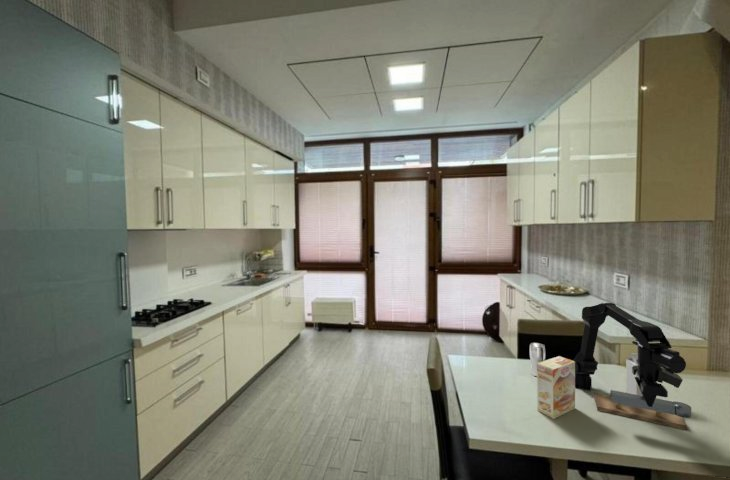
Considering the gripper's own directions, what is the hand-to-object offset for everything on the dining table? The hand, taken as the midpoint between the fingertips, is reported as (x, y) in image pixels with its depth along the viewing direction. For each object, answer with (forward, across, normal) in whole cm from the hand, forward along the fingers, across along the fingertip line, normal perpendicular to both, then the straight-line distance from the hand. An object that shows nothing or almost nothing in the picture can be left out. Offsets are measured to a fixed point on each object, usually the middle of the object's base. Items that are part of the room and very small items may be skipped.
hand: (648, 403), depth 112 cm
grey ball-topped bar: (+1, 0, 0) cm, 1 cm away
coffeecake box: (+10, +1, +28) cm, 30 cm away
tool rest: (+10, +14, +1) cm, 17 cm away
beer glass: (+10, +32, +36) cm, 49 cm away
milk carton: (+10, +28, -3) cm, 30 cm away
